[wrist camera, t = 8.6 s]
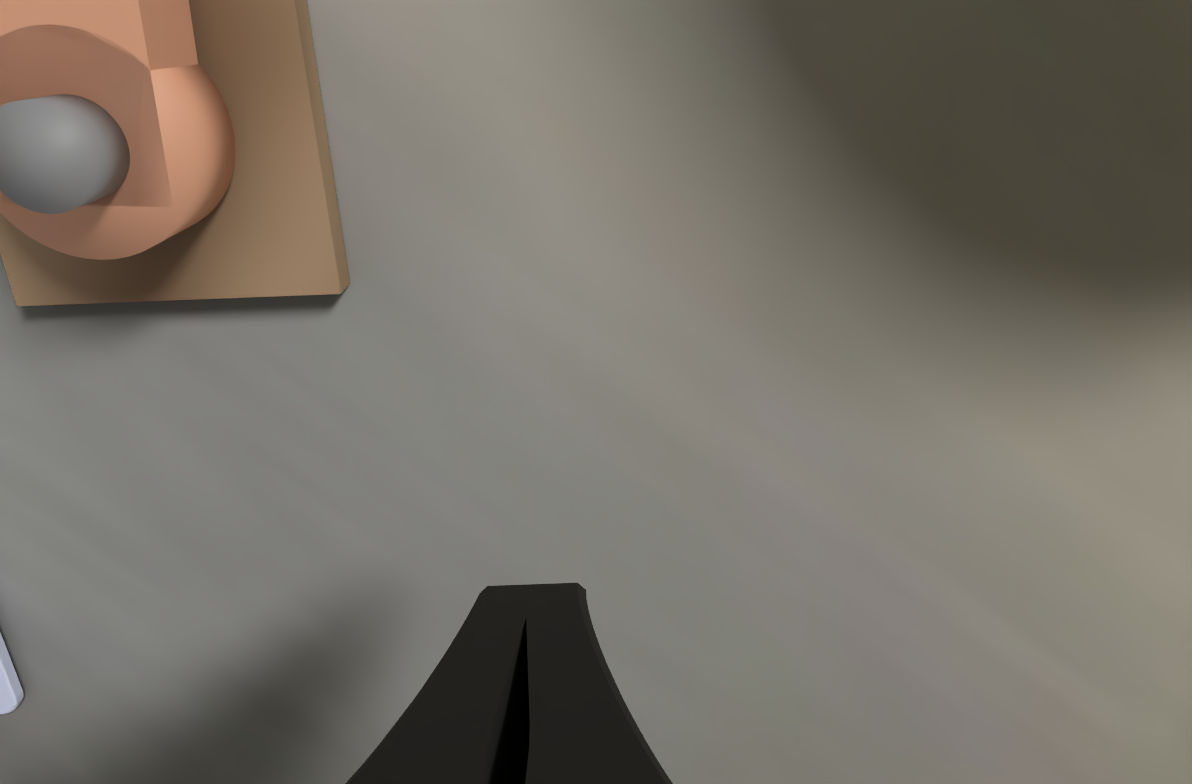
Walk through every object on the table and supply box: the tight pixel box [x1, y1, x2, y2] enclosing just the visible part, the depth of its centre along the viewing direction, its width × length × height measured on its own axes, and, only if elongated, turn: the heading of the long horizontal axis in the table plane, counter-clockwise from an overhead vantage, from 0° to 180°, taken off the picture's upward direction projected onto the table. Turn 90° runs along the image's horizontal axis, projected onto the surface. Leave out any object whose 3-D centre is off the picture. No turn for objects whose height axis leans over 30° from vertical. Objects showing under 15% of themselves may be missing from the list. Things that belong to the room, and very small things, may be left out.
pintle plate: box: [0, 0, 350, 306], centre depth 18 cm, size 7×7×1 cm
